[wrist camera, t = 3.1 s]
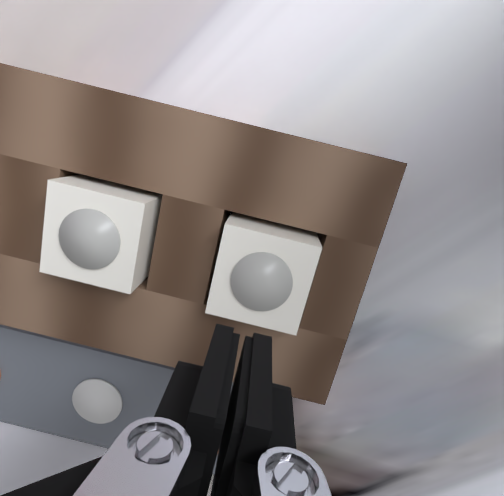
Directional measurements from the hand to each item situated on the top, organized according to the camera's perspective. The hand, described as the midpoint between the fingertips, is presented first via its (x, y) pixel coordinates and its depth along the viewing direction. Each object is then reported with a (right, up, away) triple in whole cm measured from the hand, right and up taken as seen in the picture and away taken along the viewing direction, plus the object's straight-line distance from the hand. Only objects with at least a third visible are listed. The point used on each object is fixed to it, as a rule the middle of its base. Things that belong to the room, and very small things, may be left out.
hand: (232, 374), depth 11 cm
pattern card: (-9, -6, +14) cm, 18 cm away
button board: (-6, +5, +11) cm, 14 cm away
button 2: (+1, +3, +9) cm, 10 cm away
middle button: (-7, +5, +9) cm, 12 cm away
